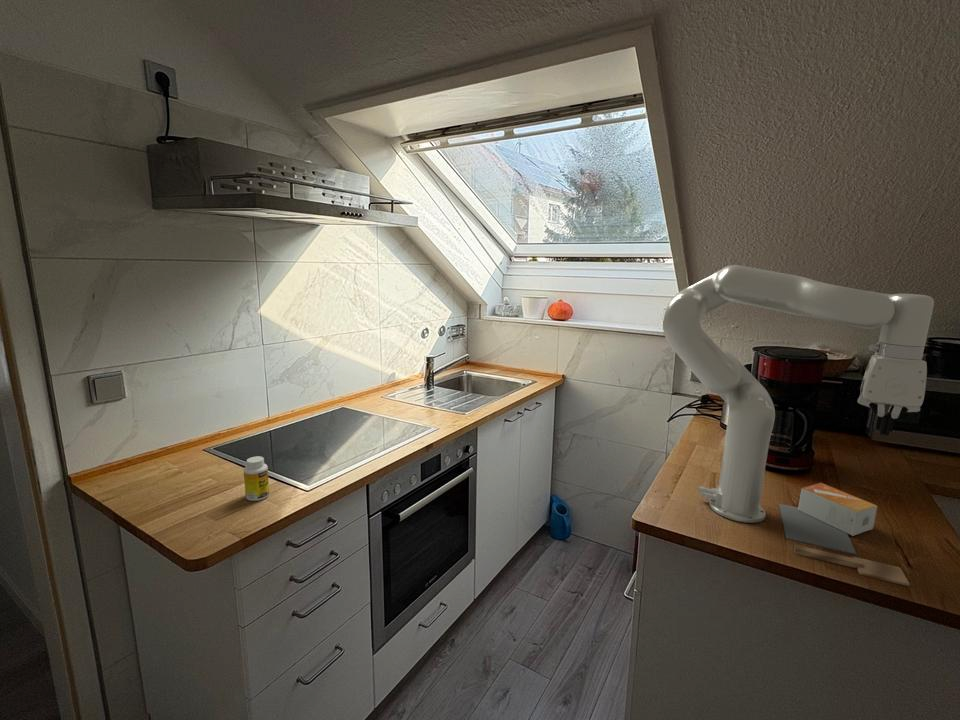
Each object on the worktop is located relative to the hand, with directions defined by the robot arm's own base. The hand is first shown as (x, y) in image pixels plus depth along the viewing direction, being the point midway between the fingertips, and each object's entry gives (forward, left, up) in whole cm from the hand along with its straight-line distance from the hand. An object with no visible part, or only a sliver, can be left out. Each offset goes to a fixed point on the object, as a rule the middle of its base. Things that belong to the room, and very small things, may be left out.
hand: (882, 433), depth 108 cm
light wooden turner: (-5, -15, -25) cm, 30 cm away
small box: (+1, +1, -22) cm, 22 cm away
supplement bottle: (-136, -54, -26) cm, 148 cm away
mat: (-9, -1, -25) cm, 27 cm away
